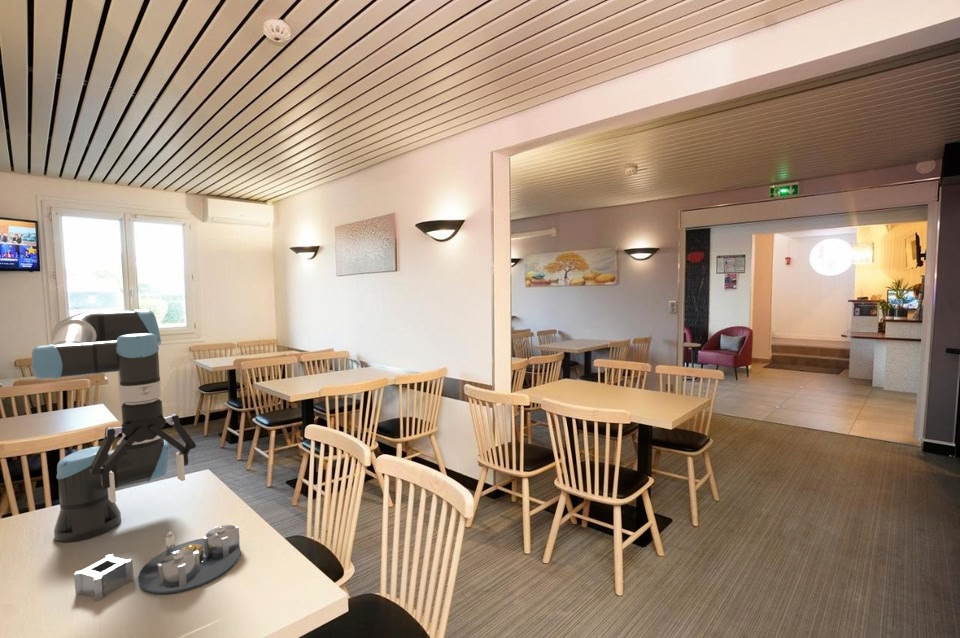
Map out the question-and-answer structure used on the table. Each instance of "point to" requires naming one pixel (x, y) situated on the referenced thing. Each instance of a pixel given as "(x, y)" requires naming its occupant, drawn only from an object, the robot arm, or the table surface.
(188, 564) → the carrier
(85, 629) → the table surface
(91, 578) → the grey square frame
